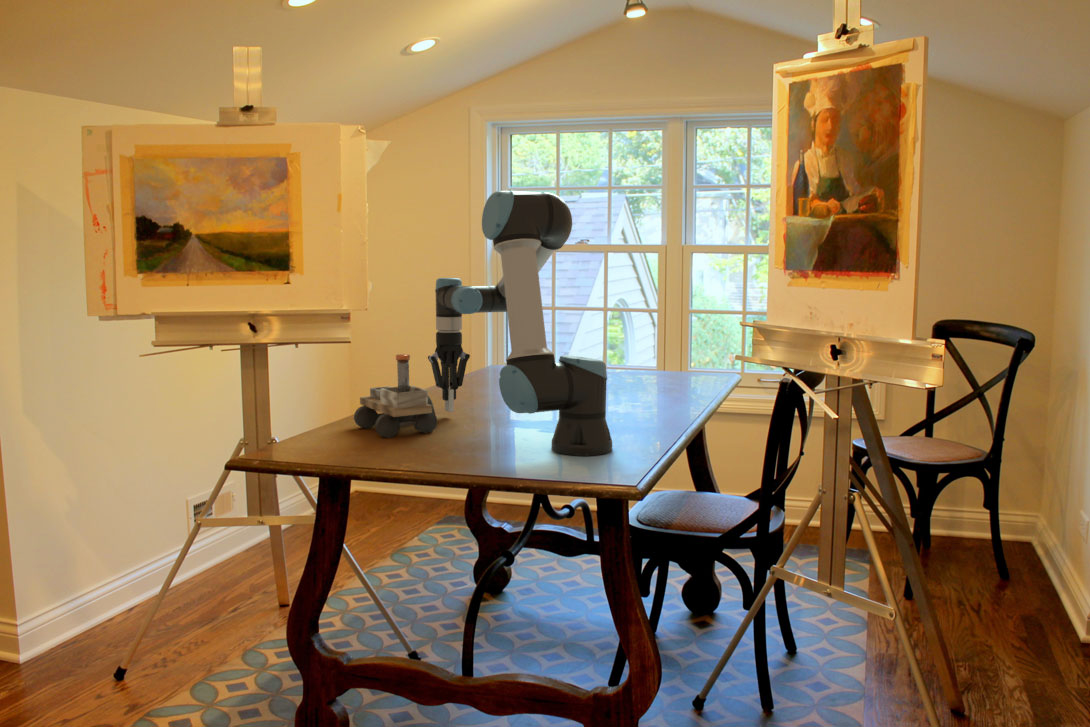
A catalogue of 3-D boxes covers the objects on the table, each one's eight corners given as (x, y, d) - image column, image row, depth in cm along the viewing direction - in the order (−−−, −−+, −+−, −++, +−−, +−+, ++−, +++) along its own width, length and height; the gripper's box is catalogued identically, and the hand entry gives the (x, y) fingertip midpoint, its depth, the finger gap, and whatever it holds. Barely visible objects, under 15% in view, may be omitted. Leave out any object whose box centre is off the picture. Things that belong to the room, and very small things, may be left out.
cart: (442, 433, 235) (441, 389, 234) (383, 441, 226) (382, 395, 224) (405, 420, 253) (405, 379, 252) (350, 426, 244) (349, 383, 242)
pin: (413, 404, 233) (411, 355, 232) (400, 405, 231) (399, 356, 230) (407, 402, 236) (406, 353, 235) (395, 403, 234) (393, 354, 233)
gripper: (462, 329, 261) (462, 406, 264) (422, 331, 254) (423, 411, 257) (474, 331, 255) (474, 410, 258) (434, 333, 248) (435, 415, 251)
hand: (449, 410), depth 258 cm, fingers closed
